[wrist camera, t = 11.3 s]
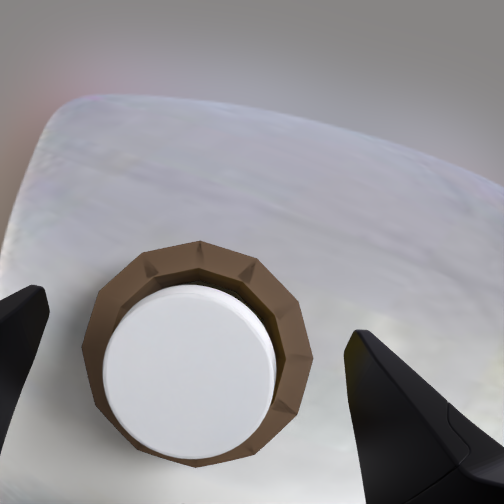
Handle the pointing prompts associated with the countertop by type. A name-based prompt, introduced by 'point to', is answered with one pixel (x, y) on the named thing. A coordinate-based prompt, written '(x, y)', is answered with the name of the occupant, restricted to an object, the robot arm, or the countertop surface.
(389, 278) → the countertop surface
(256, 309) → the walnut ring socket
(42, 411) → the countertop surface
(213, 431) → the supplement bottle
